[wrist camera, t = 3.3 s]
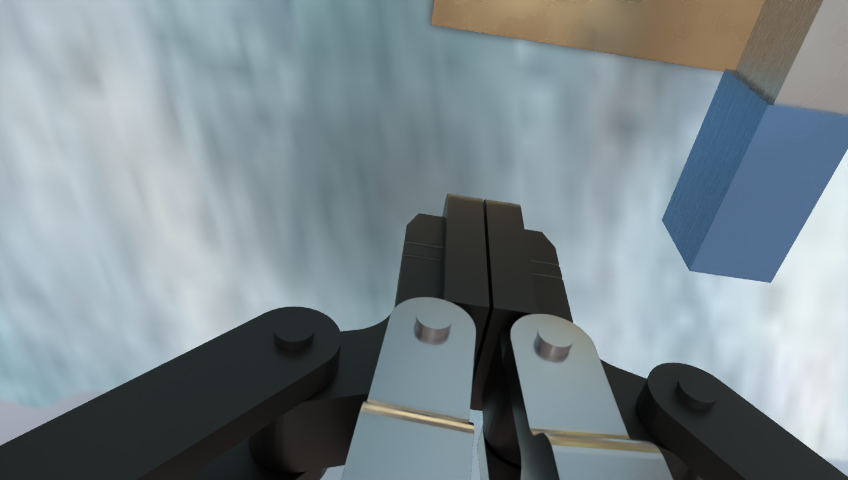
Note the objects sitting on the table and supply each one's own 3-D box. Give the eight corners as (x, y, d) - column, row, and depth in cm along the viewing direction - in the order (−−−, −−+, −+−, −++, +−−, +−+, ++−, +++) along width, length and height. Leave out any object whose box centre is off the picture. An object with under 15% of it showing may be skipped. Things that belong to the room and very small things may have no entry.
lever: (851, -302, 13) (940, -334, 10) (1015, -272, 13) (1140, -297, 11) (644, 217, 20) (668, 267, 17) (751, 233, 20) (790, 285, 18)
